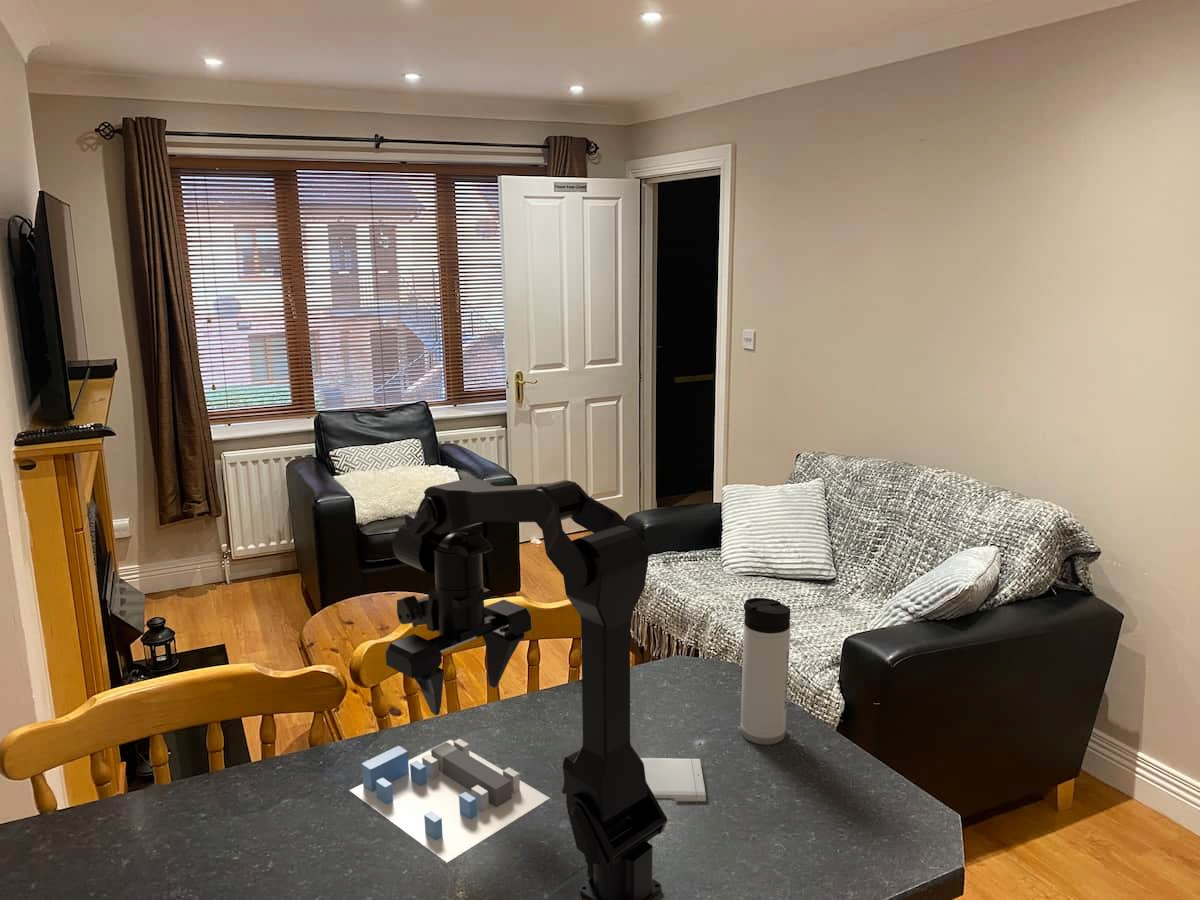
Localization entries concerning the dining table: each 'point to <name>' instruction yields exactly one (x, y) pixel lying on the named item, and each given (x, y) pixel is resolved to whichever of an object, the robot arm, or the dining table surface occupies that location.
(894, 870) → the dining table surface
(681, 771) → the hard drive
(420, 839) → the board
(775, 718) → the travel mug
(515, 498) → the robot arm
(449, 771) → the dark grey bar
